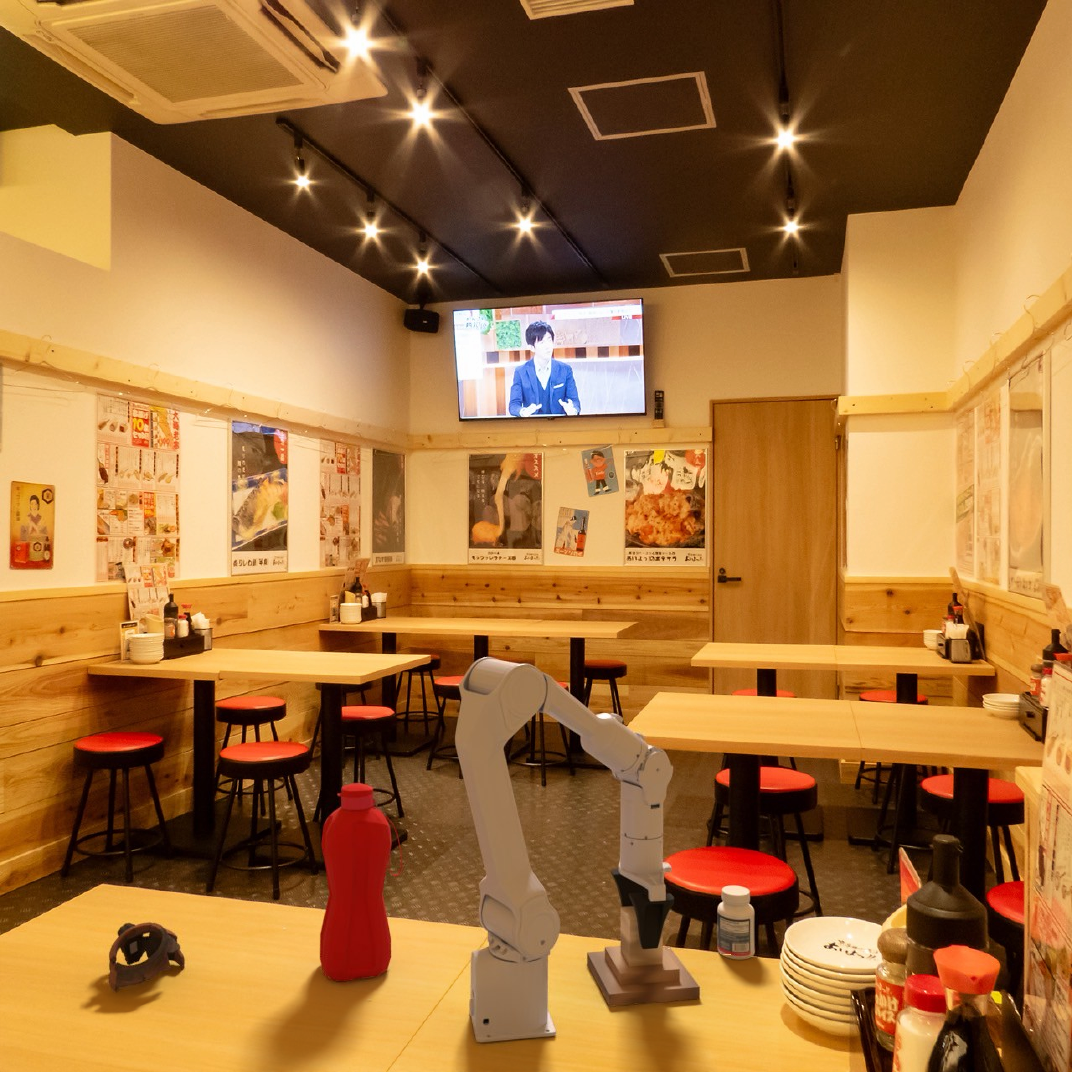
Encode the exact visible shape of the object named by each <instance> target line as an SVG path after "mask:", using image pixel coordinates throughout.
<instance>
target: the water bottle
mask: <svg viewBox="0 0 1072 1072" xmlns="http://www.w3.org/2000/svg"><path fill="white" fill-rule="evenodd" d="M340 788H341V792H340V793H337V796H338V797H340V802H341V804H340V807H338V808H337V809H335V810H334V811H332V812H331V814H329V816H328V817H327V818H326V820H325V822H324V824H323V826H322V827H323V829H322V835H321V843H320V844H321V850H322V855H323V859H324V866H325V871H326V881H327V886H328V893H329V894H328V899H327V902H326V908H325V910H324V911H325V912H324V916H323V920H322V924H321V929H320V933H319V961H320V965H321V969H322V973H323V974H324V975H325V976H326V977H328V979H330V980H332V981H336V982H341V983H343V982H344V983H345V982H350V981H355V980H358V979H359V980H360V979H368V978H375V977H379V976H380V975H381V974H383V973H384V972H386V971H387V970H388V969H389V965H390V962H391V959H392V936H391V931H390V926H389V921H388V916H387V910H386V904H385V898H384V893H383V892H384V885H385V879H386V873H387V868H388V869H389V873H390V874H391V875H392V876H394V877H397V876H399V875H401V872H402V869H403V855H402V849H401V844H400V840H399V835H398V833H397V829H396V827H395V825H394V823H393V822H392V821H391V820H390V819H389V818H388V816H387V814H386V813H385V812H384V811H383V810H382V809H380V808H379V807H378V804H377V802H378V800H377V798H374V788H373V786H371V785H368V784H365V783H361V782H353V783H348V784H345V785H342V787H340ZM389 822H390V823H391V824H392V826H393V828H394V831H395V834H396V837H397V841H398V846H399V853H400V859H401V860H400V869H399V872H398V873H396V874H393V873H392V871H391V864H390V861H391V859H390V857H391V851H392V833H391V831H392V830H391V826H390V824H389Z"/></svg>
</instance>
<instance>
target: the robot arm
mask: <svg viewBox="0 0 1072 1072" xmlns="http://www.w3.org/2000/svg"><path fill="white" fill-rule="evenodd" d="M458 688H459V693H460V698H461V701H460V707H459V713H458V716H457V723H456V729H455V735H454V743H455V744H454V745H455V749H456V753H457V756H458V760H459V765H460V769H461V773H462V778H463V782H464V786H465V790H466V795H467V798H468V799H467V800H468V802H469V807H470V811H471V815H472V819H473V824H474V829H475V833H476V837H477V840H478V841H477V842H478V844H479V845H478V846H479V849H480V850H479V851H480V854H481V857H482V861H483V865H484V870H485V874H486V875H485V876H484V877H483V878H482V879H481V881H480V882H479V883H478V890H479V894H480V900H479V906H478V919H479V923H480V924H481V926H482V928H483V929H484V930H485V931H487V942H488V946H485V947H483V948H481V949H476V950H472V952H471V954H470V955H471V956H470V999H469V1004H468V1005H469V1015H470V1017H471V1022H472V1028H473V1031H474V1037H475V1041H476V1042H478V1043H488V1042H500V1041H509V1040H510V1041H511V1040H521V1039H533V1038H544V1037H545V1038H546V1037H553V1036H554V1037H555V1035H556V1034H557V1030H556V1027H555V1024H554V1021H553V1019H552V1016H551V1014H550V1011H549V1009H548V1008H549V1007H548V1003H549V1002H548V999H549V997H548V996H549V993H548V992H549V991H548V990H549V983H548V982H549V976H548V975H549V956H550V955H551V950H552V949H553V948H554V947H555V946H556V944H557V941H558V939H559V936H560V931H561V920H560V916H559V915H560V914H559V913H558V911H557V910H556V909H555V907H553V906H552V904H551V902H550V901H549V897H548V895H547V894H548V893H547V890H546V889H545V887H544V886H543V884H542V882H540V879H538V877H537V876H536V874H535V873H534V872H533V870H532V867H531V864H530V859H529V854H528V851H527V846H526V842H525V836H524V833H523V828H522V824H521V820H520V816H519V812H518V811H519V810H518V808H517V807H518V806H517V802H516V798H515V794H514V789H513V785H512V781H511V777H510V772H509V768H508V764H507V758H506V754H505V751H504V747H505V746H506V744H507V743H508V741H509V740H510V739H511V738H512V737H513V736H514V735H515V734H516V733H517V732H518V731H519V730H520V729H521V728H523V726H525V725H526V723H528V721H529V720H530V719H531V718H532V717H534V716H535V715H536V713H537V712H538V713H542V714H546V715H548V716H550V717H551V718H553V720H555V721H557V722H559V723H560V724H562V725H563V726H565V727H567V728H568V729H569V730H571V731H573V732H574V733H576V734H577V735H579V736H580V745H581V747H582V749H583V750H584V751H585V752H586V754H589V755H590V756H591V757H593V758H594V759H595V760H597V761H598V762H599V763H602V765H604V766H606V767H607V768H609V769H610V770H611V773H612V776H613V778H614V779H615V780H619V781H620V832H619V833H620V836H619V837H620V839H619V841H620V842H619V843H620V844H619V846H620V847H619V848H620V849H619V863H618V868H614V869H611V870H610V873H611V876H612V878H613V880H614V882H615V884H616V885H615V886H616V888H617V891H618V895H619V899H620V904H621V907H629V906H634V909H635V913H636V917H637V922H638V931H639V939H640V943H641V947H642V948H643V949H655V948H658V946H659V942H660V938H661V934H662V929H663V930H664V925H665V922H666V919H667V917H668V914H669V913H670V910H671V909H672V907H673V906H674V905H675V897H674V896H673V895H672V893H667V892H666V889H667V888H666V887H667V886H666V884H665V881H664V880H665V874H666V873H671V872H672V866H671V864H669V862H667V861H666V862H664V802H665V801H666V800H665V799H666V798H667V789H668V785H669V784H670V781H671V780H672V777H673V774H674V766H673V765H672V764H671V761H670V758H669V756H668V754H667V752H665V750H664V749H663V748H661V747H658V746H654V745H650V744H648V743H647V741H646V740H645V739H646V736H645V735H644V734H642V733H640V732H634V731H633V730H631V728H629V727H627V726H626V725H625V724H624V723H623V721H624V718H623V717H622V716H621V715H619V714H617V713H613V712H612V713H608V712H607V713H606V712H603V713H602V712H601V713H597V714H595V713H594V712H593V711H591V709H589V708H588V707H587V706H585V705H584V704H583V703H582V702H581V701H579V700H578V699H577V698H576V697H575V696H573V695H572V694H571V693H570V692H569V691H568V690H567V689H566V688H564V687H563V686H562V685H561V684H559V682H557V681H556V680H555V679H554V678H553V676H551V675H549V674H548V673H545V672H542V671H541V670H540V669H539V668H538V667H536V666H535V665H532V664H530V663H517V662H511V661H506V660H501V659H498V658H496V657H492V656H486V657H485V656H484V657H482V658H479V659H477V660H475V661H474V662H473V663H472V664H471V665H470V667H469V668H468V669H467V671H466V672H465V674H464V676H463V677H462V678H461V680H460V681H459V683H458Z"/></svg>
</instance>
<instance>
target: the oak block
mask: <svg viewBox="0 0 1072 1072" xmlns="http://www.w3.org/2000/svg"><path fill="white" fill-rule="evenodd" d="M663 930H664V928H663V929H662V934H661V938H660V942H659V946H658V948H655V949H643V948H642V947H641V943H640V939H639V931H638V922H637V917H636V913H635V909H634V906H629V907H622V906H620V945H619V946H620V952H621V953H622V955H623V956H624V958H625V960H626V961H627V963H628V965H629V966H630V967H631V966H644V965H657V964H663V947H664V945H663V943H664V940H663V939H664V938H663V937H664V931H663Z"/></svg>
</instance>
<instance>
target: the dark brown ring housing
mask: <svg viewBox="0 0 1072 1072" xmlns="http://www.w3.org/2000/svg"><path fill="white" fill-rule="evenodd" d="M146 934H148V935H146ZM117 936H118V937H117V938H116V939H115V940H114V942H113V943H112V945H111V947H110V950H109V952H108V960H109V962H108V963H109V964H108V970H109V973H108V977H107V978H108V979H107V981H108V985H109V987H110V989H111V990H112V991H113V993H117V992H118V989H120V988H121V989H122V988H127V987H132V986H133V987H134V986H137V985H142V984H144V983H145V982H146V981H147V980H150V979H152V978H154V977H156V975H158V974H159V973H161V972H162V971H164V970H172V966H171V963H170V961H172V962H175V963H176V964H178V965H179V967H180V968H181V970H184V969H185V963H186V962H185V961H186V960H185V959H186V958H185V956H184V953H182V951H181V945H180V943H178V939H179V938H178V935H176V933H175V932H173V931H172V930H171V929H168V928H166V927H164V926H163V925H161V924H159V923H157V922H150V921H149V922H142V923H138V924H134V923H131V922H126V923H124V924H123V925H122V926H120V927H119V928H118V930H117ZM119 950H120V951H121V953H122V954H123V956H124V957H123V958H124V961H125V963H126V964H123V963H120V962H117V955H118V952H119ZM145 953H146V954H145ZM144 954H145V955H146V957H147V959H146V960H143V961H142V962H140V960H141V959H142V957H143V955H144Z"/></svg>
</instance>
